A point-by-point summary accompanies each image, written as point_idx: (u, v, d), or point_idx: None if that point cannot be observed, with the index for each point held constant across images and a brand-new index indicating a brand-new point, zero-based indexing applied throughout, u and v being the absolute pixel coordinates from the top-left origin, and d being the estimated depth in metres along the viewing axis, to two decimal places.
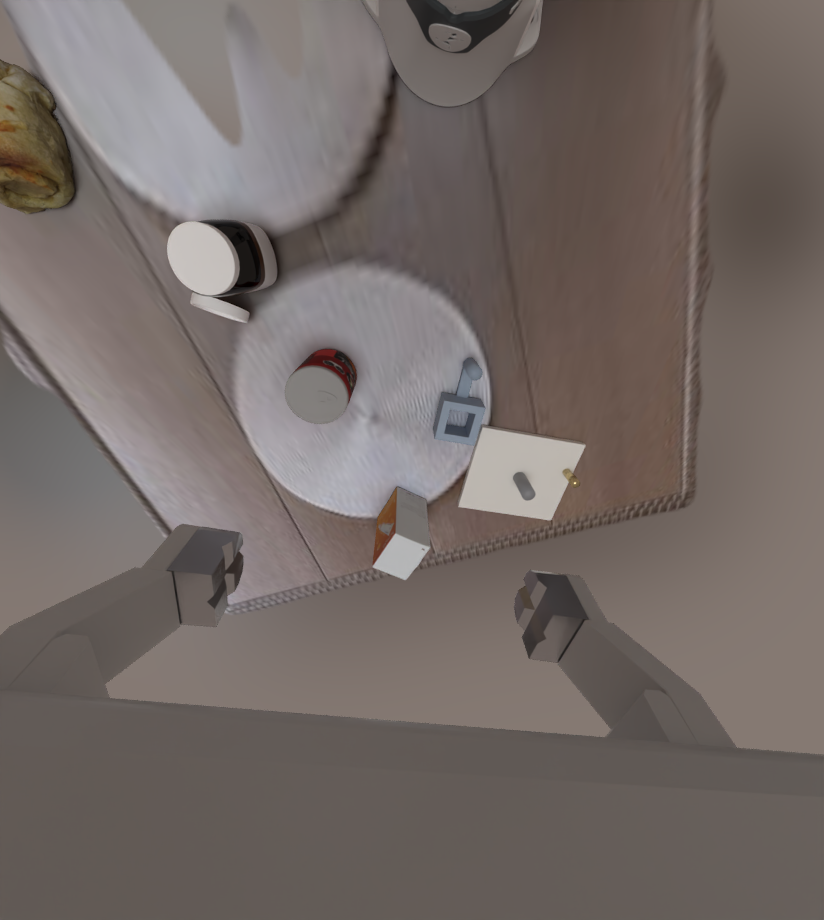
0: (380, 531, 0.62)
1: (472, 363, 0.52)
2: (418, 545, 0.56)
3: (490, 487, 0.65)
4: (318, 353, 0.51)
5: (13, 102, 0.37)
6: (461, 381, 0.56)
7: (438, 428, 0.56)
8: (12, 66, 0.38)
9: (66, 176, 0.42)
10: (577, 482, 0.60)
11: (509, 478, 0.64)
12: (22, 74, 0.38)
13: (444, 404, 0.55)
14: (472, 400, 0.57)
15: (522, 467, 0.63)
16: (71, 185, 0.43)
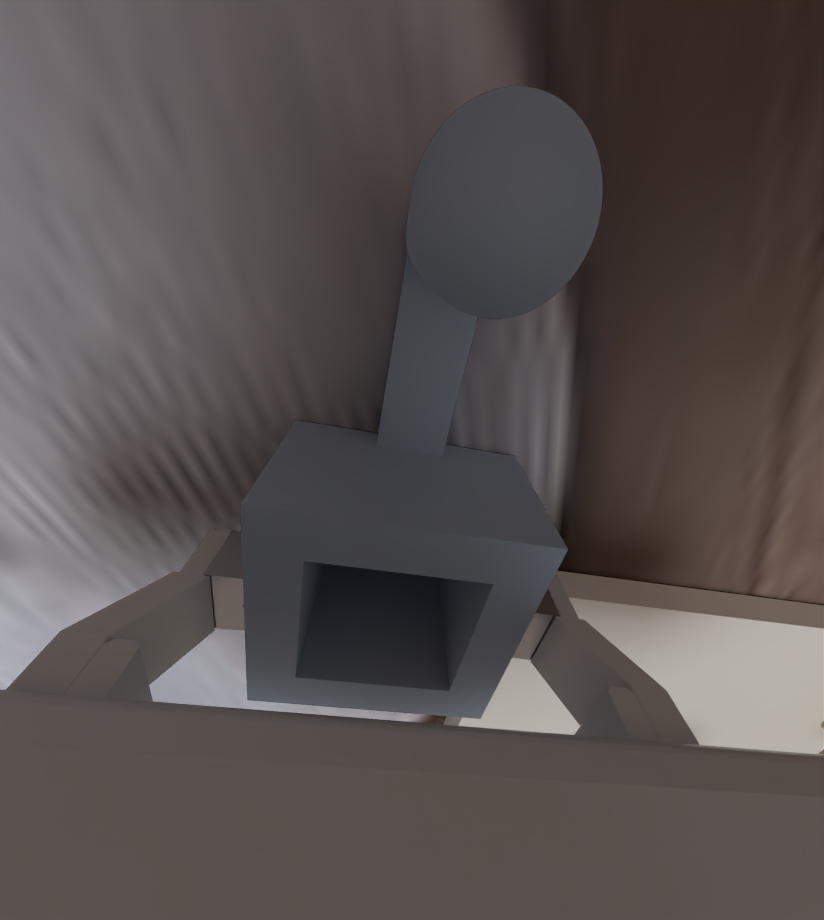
0: None
1: None
2: None
3: None
4: None
5: None
6: (398, 356, 0.09)
7: (253, 657, 0.09)
8: None
9: None
10: None
11: None
12: None
13: (251, 530, 0.07)
14: (468, 469, 0.10)
15: None
16: None
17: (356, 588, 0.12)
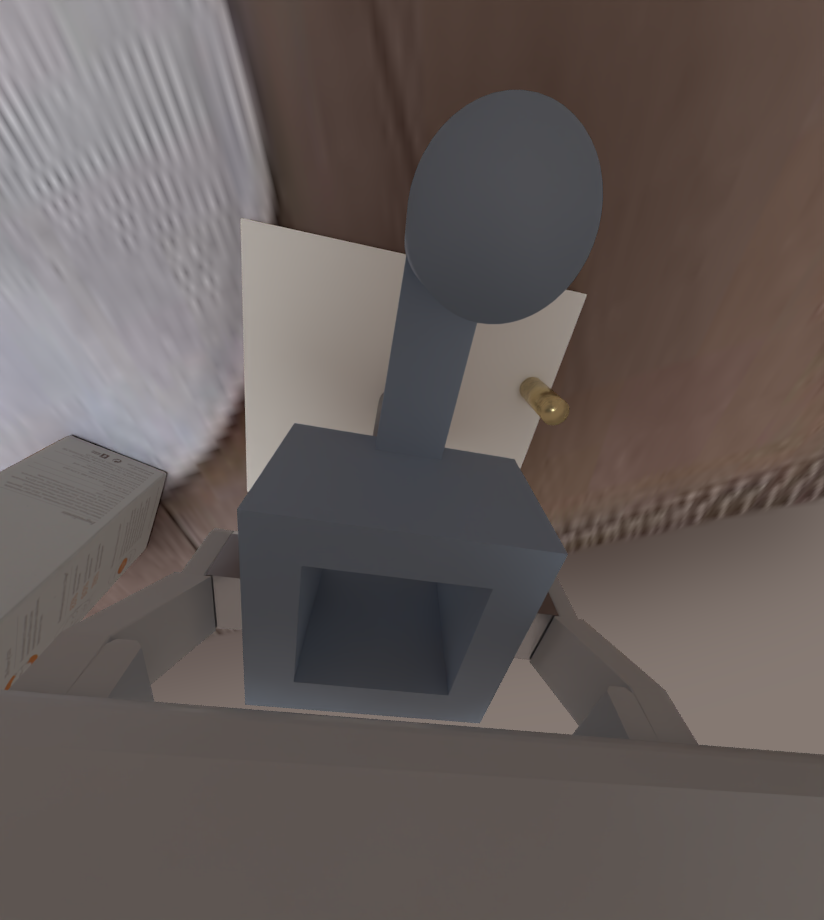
0: None
1: None
2: None
3: None
4: None
5: None
6: (397, 359, 0.09)
7: (251, 661, 0.09)
8: None
9: None
10: (560, 406, 0.18)
11: (369, 408, 0.22)
12: None
13: (248, 535, 0.07)
14: (467, 472, 0.10)
15: None
16: None
17: (355, 591, 0.12)
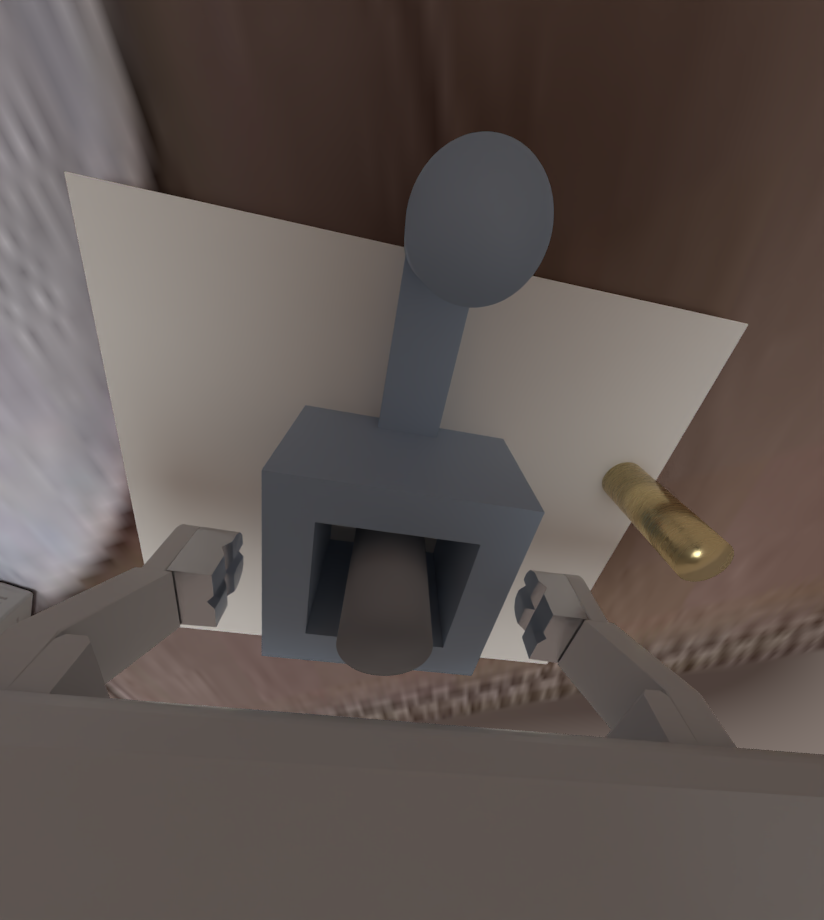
0: None
1: None
2: None
3: None
4: None
5: None
6: (397, 346, 0.10)
7: (268, 613, 0.10)
8: None
9: None
10: (717, 551, 0.09)
11: None
12: None
13: (270, 493, 0.08)
14: (460, 448, 0.11)
15: None
16: None
17: None
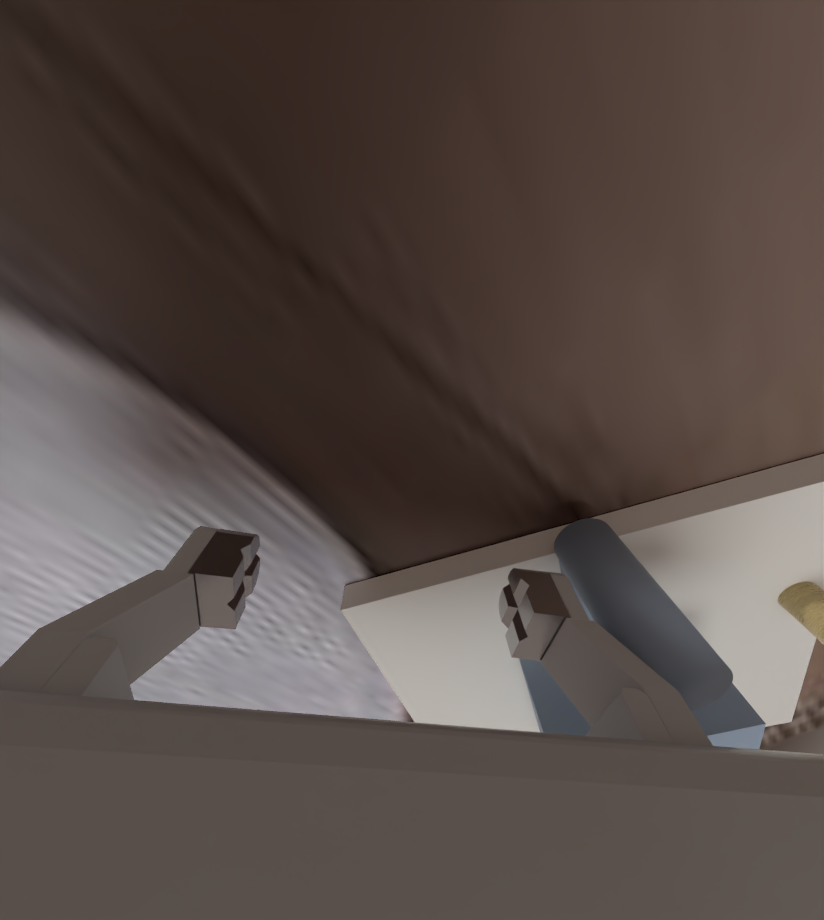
0: None
1: (625, 604, 0.09)
2: None
3: (516, 725, 0.18)
4: None
5: None
6: None
7: None
8: None
9: None
10: None
11: None
12: None
13: None
14: None
15: None
16: None
17: None
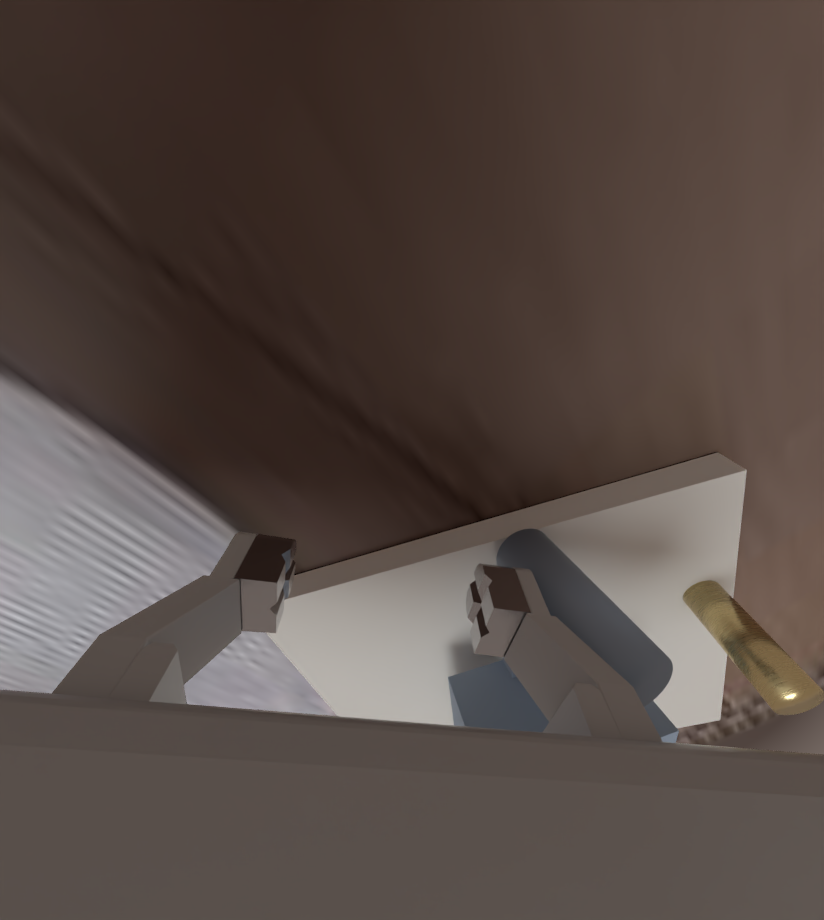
0: None
1: (574, 604, 0.09)
2: None
3: (444, 724, 0.19)
4: None
5: None
6: None
7: None
8: None
9: None
10: (805, 695, 0.11)
11: None
12: None
13: None
14: None
15: None
16: None
17: None
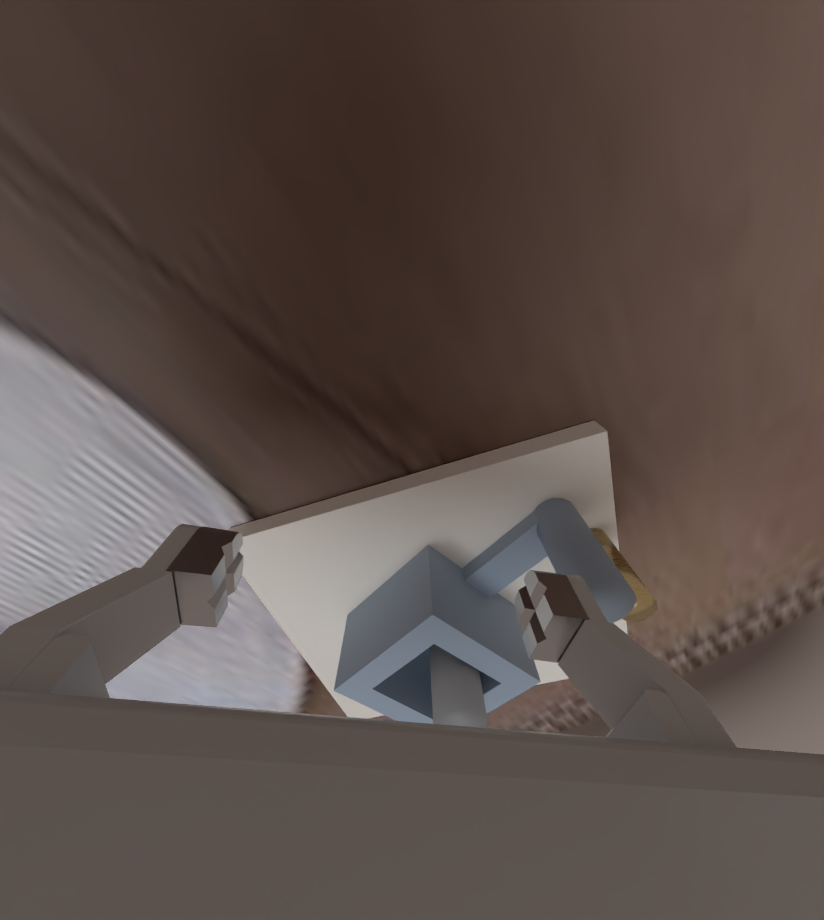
0: None
1: (598, 549, 0.13)
2: None
3: None
4: None
5: None
6: (504, 552, 0.17)
7: (362, 672, 0.16)
8: None
9: None
10: (640, 602, 0.14)
11: None
12: None
13: (425, 624, 0.14)
14: (501, 612, 0.18)
15: None
16: None
17: None
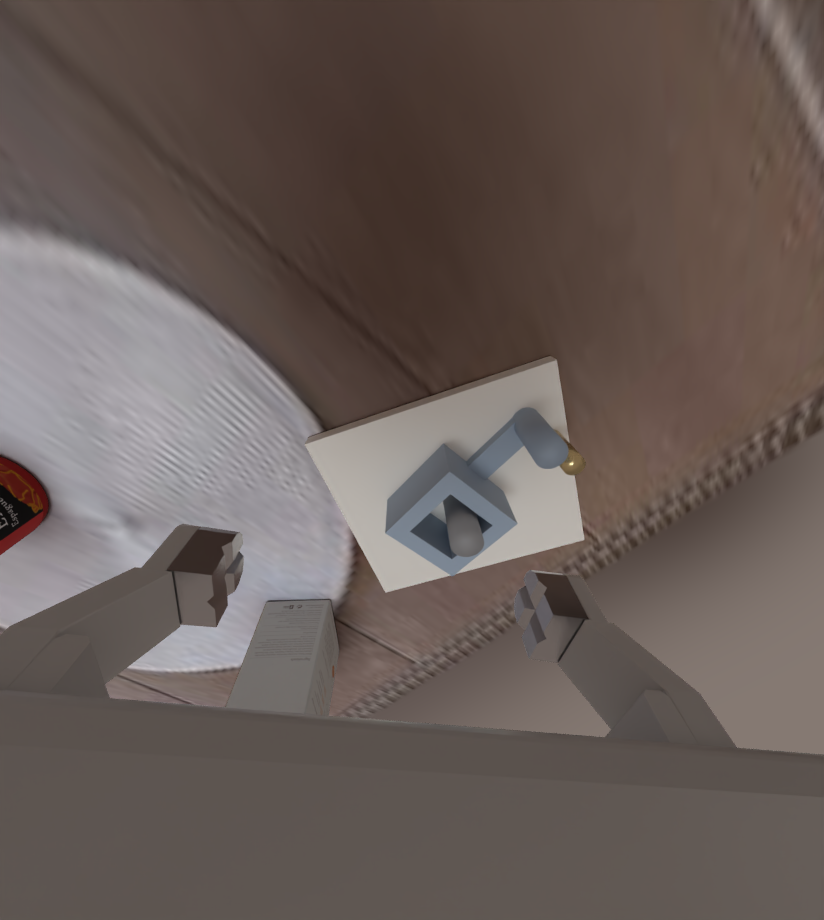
0: None
1: (549, 427, 0.22)
2: None
3: None
4: None
5: None
6: (494, 444, 0.26)
7: (404, 517, 0.24)
8: None
9: None
10: (575, 460, 0.23)
11: (438, 507, 0.29)
12: None
13: (445, 479, 0.23)
14: (492, 488, 0.27)
15: None
16: None
17: None
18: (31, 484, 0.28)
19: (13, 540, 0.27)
